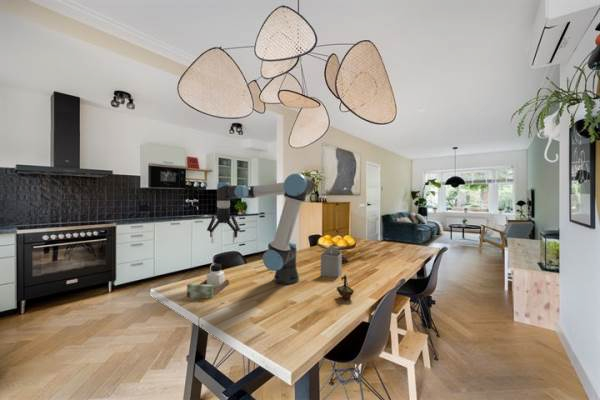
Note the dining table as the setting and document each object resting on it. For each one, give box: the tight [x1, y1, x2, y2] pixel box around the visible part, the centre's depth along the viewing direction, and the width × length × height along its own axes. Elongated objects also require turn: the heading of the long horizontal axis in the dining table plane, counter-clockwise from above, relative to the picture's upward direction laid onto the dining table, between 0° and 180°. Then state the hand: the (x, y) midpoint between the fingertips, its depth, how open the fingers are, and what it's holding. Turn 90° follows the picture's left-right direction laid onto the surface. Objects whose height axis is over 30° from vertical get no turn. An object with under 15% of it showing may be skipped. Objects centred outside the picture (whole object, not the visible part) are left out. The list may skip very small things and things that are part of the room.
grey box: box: [320, 244, 343, 279], centre depth 154 cm, size 16×8×19 cm, turn 116°
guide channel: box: [186, 278, 230, 299], centre depth 128 cm, size 13×20×6 cm, turn 172°
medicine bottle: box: [206, 263, 225, 289], centre depth 135 cm, size 7×7×12 cm
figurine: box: [336, 274, 355, 300], centre depth 120 cm, size 10×8×12 cm
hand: (223, 242), depth 145 cm, fingers open, 13 cm apart
